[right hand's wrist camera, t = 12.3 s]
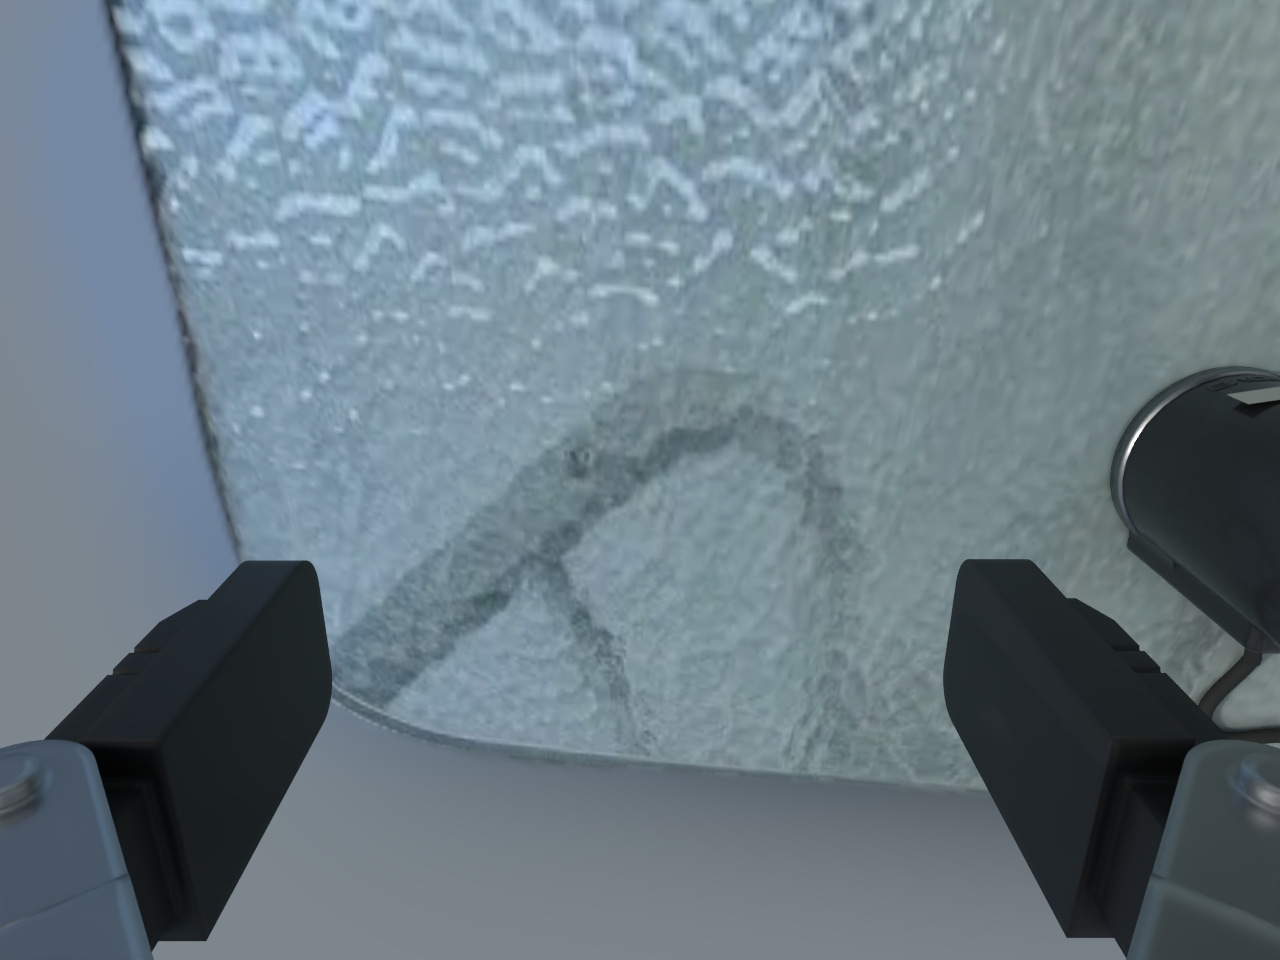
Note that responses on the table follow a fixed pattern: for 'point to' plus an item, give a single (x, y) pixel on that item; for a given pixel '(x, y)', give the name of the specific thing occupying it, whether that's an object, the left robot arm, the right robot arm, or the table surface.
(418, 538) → the table surface
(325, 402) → the table surface
